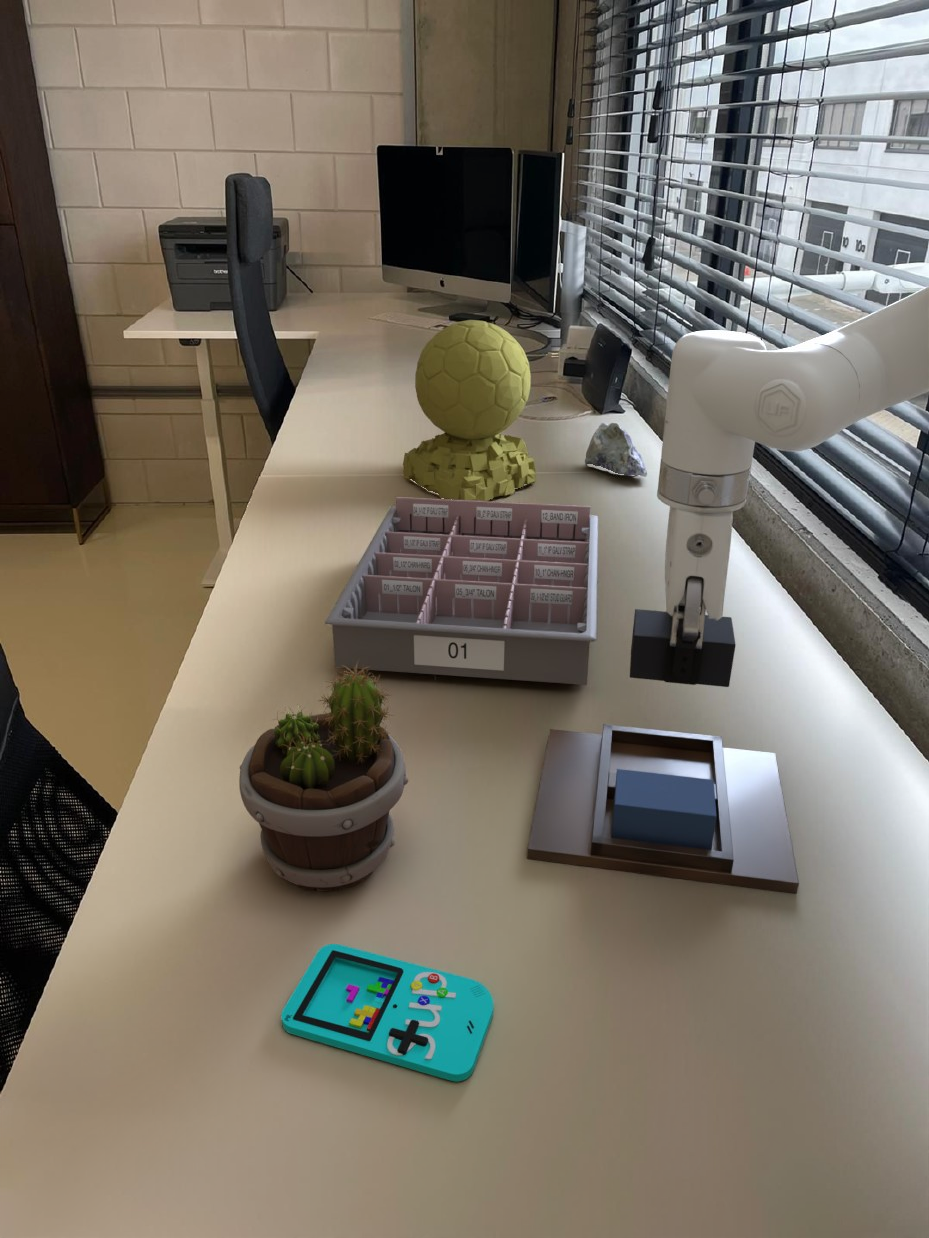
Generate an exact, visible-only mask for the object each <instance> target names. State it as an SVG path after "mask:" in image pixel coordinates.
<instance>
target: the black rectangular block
mask: <svg viewBox="0 0 929 1238" xmlns="http://www.w3.org/2000/svg"><path fill="white" fill-rule="evenodd" d="M683 622H684V620H683V619H679V623H678V629H679V627H683ZM671 626H672V616H670V615H669V614H668V613H667V612H666V611H665V610H651V609H638V608H635V609H634V616H633V626H632V635H631V646H630V660H629V661H630V662H629V664H630V665H629V678H631V679H640V680H651V681H660V682H664V681H663V669H664V661H665V653H666V644H667V641H670V637H671ZM702 644H703V654H702V661H701V668H700V675H699V682H698V684H697V685H702V686H711V687H723V688H729V687H730V682H731V677H732V671H733V665H734V659H735V658H734V657H735V651H736V645H737V643H736V637H735V631H734V625H733V619H732V617H731V616H722V617H721V618H720V619H719V620H718V621H715V620H714V619H711V618H709V617H708V614H705V621H704V631H703V640H702Z"/></svg>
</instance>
